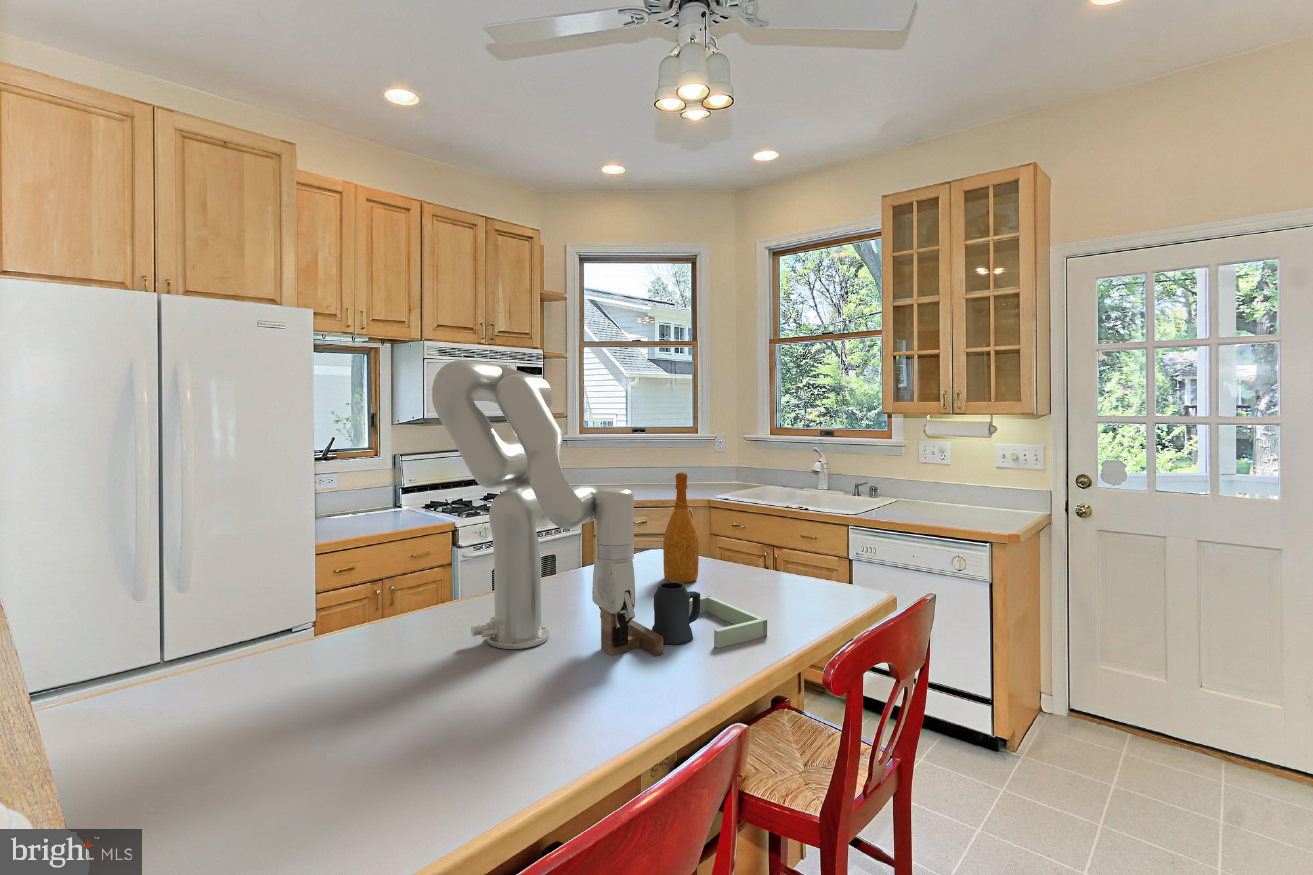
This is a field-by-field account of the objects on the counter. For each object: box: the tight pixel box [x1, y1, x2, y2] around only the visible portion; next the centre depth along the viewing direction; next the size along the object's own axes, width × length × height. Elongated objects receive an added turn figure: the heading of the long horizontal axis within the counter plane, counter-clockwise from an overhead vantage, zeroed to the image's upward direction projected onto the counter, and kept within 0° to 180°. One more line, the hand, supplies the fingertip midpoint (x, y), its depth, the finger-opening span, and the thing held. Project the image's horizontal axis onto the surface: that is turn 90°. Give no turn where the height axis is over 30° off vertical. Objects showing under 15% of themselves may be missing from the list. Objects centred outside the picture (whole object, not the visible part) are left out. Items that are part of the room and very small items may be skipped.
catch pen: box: [689, 595, 768, 649], centre depth 143 cm, size 13×20×4 cm, turn 32°
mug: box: [651, 581, 701, 647], centre depth 138 cm, size 12×9×11 cm
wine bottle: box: [662, 471, 700, 584], centre depth 182 cm, size 10×10×30 cm
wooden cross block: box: [600, 607, 664, 657], centre depth 131 cm, size 9×14×9 cm, turn 32°
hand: (614, 641), depth 130 cm, fingers closed on wooden cross block, 4 cm apart
